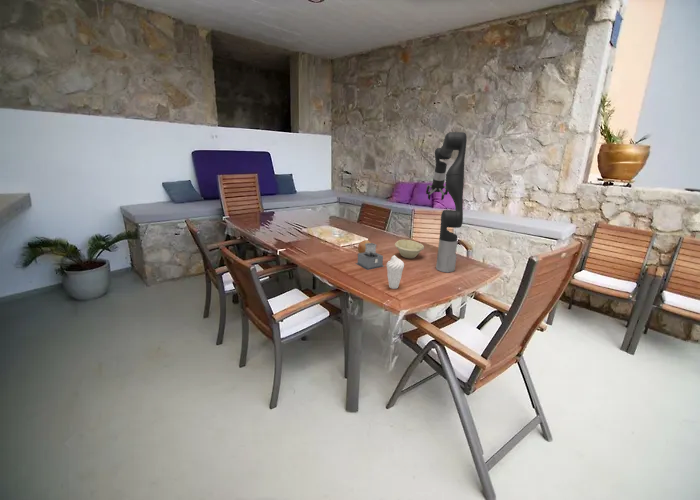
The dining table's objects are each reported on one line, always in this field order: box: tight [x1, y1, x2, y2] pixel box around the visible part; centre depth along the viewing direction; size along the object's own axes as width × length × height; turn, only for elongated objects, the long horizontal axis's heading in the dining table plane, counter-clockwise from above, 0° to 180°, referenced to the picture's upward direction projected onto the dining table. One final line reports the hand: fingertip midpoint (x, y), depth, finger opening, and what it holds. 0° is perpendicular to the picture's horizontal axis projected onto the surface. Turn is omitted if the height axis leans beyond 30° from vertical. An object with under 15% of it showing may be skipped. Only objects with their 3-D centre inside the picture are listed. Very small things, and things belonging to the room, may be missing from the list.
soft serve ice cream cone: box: [386, 255, 405, 290], centre depth 150 cm, size 8×8×16 cm
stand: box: [355, 252, 385, 271], centre depth 178 cm, size 12×12×8 cm
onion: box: [357, 239, 372, 253], centre depth 196 cm, size 10×10×10 cm
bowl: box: [394, 239, 425, 259], centre depth 196 cm, size 14×18×15 cm
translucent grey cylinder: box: [365, 242, 377, 257], centre depth 177 cm, size 5×5×12 cm
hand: (435, 199), depth 222 cm, fingers open, 8 cm apart
